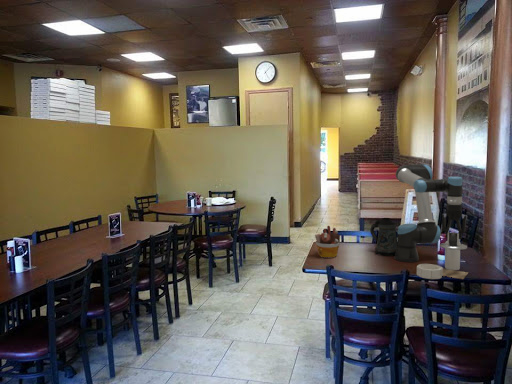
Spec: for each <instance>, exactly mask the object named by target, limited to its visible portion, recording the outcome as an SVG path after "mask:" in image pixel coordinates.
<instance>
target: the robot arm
mask: <svg viewBox="0 0 512 384" xmlns="http://www.w3.org/2000/svg"><path fill="white" fill-rule="evenodd" d="M433 174H434V173H433V170H432V168H431V167H430V165H429V164H422V163H420V164H403V165H401V166H400V167H398V168H397V170H396V171H395V178H396V179H397V181H399V182H401V183H403V184H404V183H406V184H407V185H409V186H411V187H412V188H413V190H414V195H415V201H416V210H417V217H418V221H417V222H416V223H403V224H400V225H399V226H398V227H397V232H396V235H397V250H396V253H395V256H394V260H396V261H399V262H403V263H416V262H419V260H420V259H419V258H420V256H419V253H418V250H417V244H419V245H421V244H436V243H438V242H439V240H440V237H441V234H442V233H441V231H442V232H445V239H447V240H446V241H447V244H449V233H451V232H450V229H451V224H452V221H455V223H456V227H457V230H458V232H457V233H458V234H457V245H459V243H460V244H461V242H460V241H461V240H462V237H463V234H465V233H466V227H467V218H468V215H467V214H463V212H462V211H463V210H462V209H463V208H462V207H463V205H462V203H463V185H464V184H463V183H464V182H463V177H461V176H449V177H447V178H440V179H439V178H438V179H437V178H435V179H433V176H434V175H433ZM430 193H447V198H446V203H447V204H446V212H445V213H442V214H441V219H442V221H441V223H442V227H441V228H440V225H438V224H436V223H437V222H436V221H435V220H434V218H433V212H432V205H431V199H430ZM446 217H447V218H448V221H447V225H446V219H447V218H446ZM461 217H462V224H461V221H460V218H461Z"/></svg>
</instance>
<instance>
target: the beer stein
mask: <svg viewBox="0 0 512 384" xmlns="http://www.w3.org/2000/svg"><path fill="white" fill-rule="evenodd" d="M376 228H378V233H377V234H378V236H377V235H376V233H375V229H376ZM396 228H397V224H396V223H395V222H394V221H393V220H391V218H389V217H382V218H381V219H377V220H376V221H375V223H372V225H370V229H369V231H370V235H371V236H372V238H373V239H374V241H375V242H376V245H375V248H374V249H375V250H374V251H375V254H376V255H378V256H381V257H395V253H396V250H397V241H398V236H397V232H396V231H397V230H396Z"/></svg>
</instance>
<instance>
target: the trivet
mask: <svg viewBox="0 0 512 384" xmlns="http://www.w3.org/2000/svg"><path fill="white" fill-rule="evenodd" d="M467 275H469V272H467V271H466V272H465V271H460V270H449V269H446V268H443V277H445V276H447V277H446V278H451V277H452V278H454V279H459V280H464V279H465V278H466V277H467Z"/></svg>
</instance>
